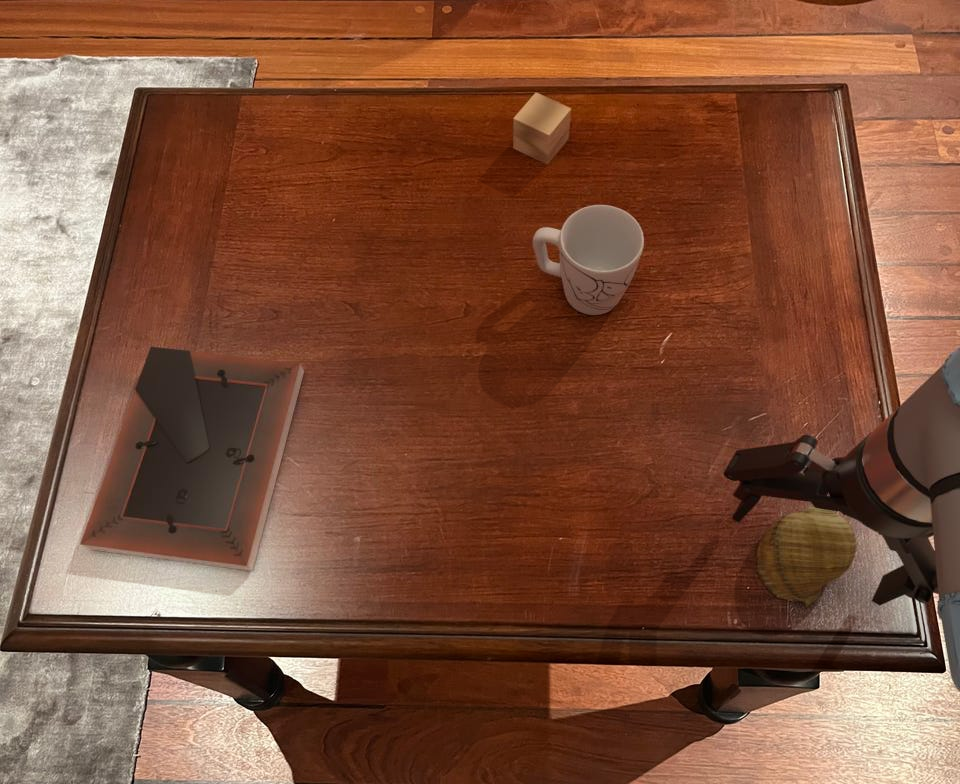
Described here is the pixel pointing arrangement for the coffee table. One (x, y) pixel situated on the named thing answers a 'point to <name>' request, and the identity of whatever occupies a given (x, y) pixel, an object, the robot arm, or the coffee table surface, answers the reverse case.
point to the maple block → (541, 128)
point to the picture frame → (196, 459)
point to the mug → (593, 256)
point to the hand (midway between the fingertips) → (809, 548)
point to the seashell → (805, 553)
